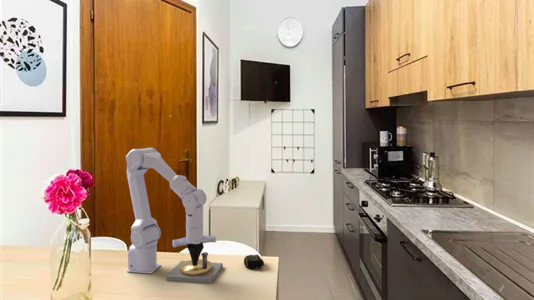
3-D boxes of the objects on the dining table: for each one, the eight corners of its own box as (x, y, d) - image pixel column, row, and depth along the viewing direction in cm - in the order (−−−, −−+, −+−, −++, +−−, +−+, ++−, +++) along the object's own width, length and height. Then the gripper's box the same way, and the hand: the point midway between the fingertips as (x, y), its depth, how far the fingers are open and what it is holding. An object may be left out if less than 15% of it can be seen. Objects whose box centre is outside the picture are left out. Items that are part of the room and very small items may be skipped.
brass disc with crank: (173, 270, 126) (173, 251, 126) (196, 260, 135) (196, 243, 135) (195, 278, 120) (195, 258, 119) (218, 268, 129) (218, 249, 128)
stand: (166, 280, 122) (166, 275, 122) (181, 264, 136) (181, 260, 136) (212, 283, 120) (212, 279, 120) (222, 267, 134) (222, 262, 133)
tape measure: (264, 269, 132) (264, 259, 132) (246, 271, 130) (246, 261, 130) (259, 262, 139) (259, 253, 138) (241, 264, 137) (242, 254, 136)
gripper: (174, 231, 116) (174, 272, 117) (218, 226, 121) (218, 266, 122) (171, 225, 122) (171, 264, 123) (213, 221, 128) (213, 258, 129)
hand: (194, 264), depth 123 cm, fingers closed
